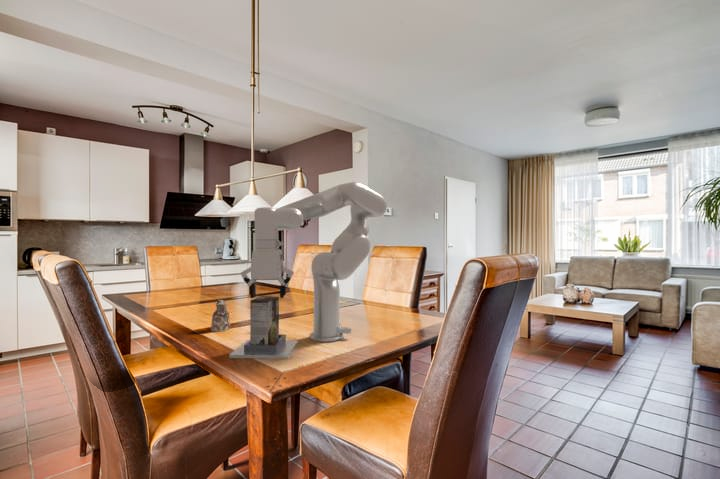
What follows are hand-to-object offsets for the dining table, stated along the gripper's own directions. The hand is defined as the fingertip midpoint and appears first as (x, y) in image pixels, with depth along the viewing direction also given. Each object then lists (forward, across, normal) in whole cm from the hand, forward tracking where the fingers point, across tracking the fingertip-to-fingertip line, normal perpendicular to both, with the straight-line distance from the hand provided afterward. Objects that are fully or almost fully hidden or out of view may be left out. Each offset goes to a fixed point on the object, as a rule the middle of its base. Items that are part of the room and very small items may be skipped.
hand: (267, 297), depth 117 cm
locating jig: (+17, +1, +1) cm, 17 cm away
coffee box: (+16, +1, +1) cm, 17 cm away
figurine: (+18, +27, -25) cm, 41 cm away
